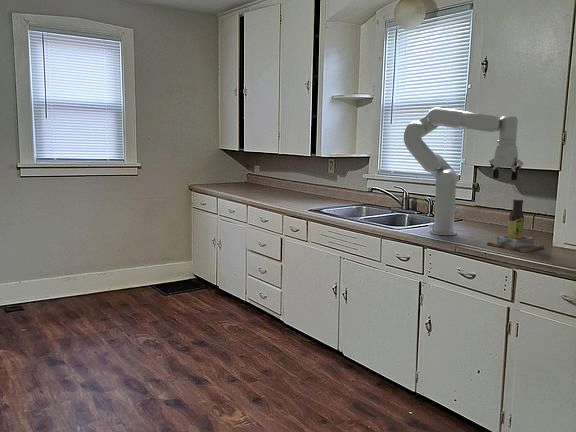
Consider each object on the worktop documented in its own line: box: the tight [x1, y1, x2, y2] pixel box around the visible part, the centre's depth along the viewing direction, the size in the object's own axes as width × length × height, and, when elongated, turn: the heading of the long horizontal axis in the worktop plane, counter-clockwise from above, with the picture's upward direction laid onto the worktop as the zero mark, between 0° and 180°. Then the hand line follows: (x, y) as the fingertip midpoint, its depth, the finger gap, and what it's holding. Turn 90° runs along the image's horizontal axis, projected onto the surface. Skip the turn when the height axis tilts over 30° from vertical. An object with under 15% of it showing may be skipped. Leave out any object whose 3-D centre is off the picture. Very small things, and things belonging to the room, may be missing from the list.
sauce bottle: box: [506, 198, 525, 240], centre depth 239 cm, size 7×6×20 cm
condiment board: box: [486, 234, 545, 253], centre depth 240 cm, size 18×15×4 cm
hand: (504, 179), depth 256 cm, fingers open, 9 cm apart
